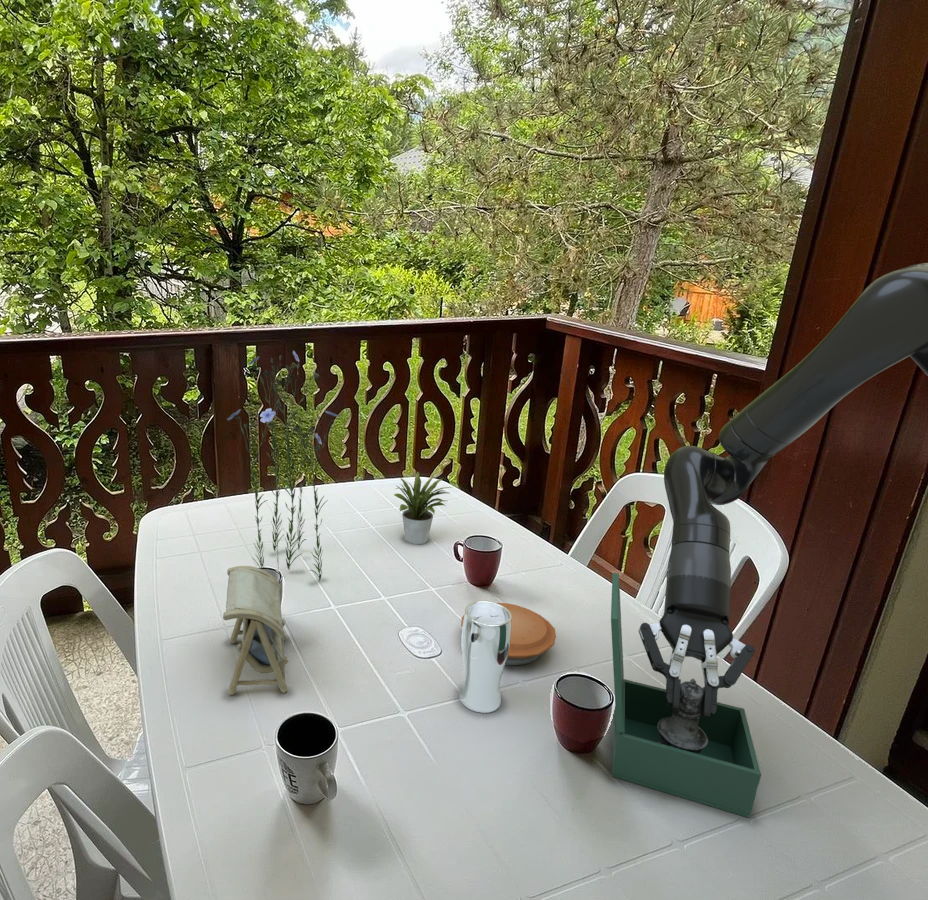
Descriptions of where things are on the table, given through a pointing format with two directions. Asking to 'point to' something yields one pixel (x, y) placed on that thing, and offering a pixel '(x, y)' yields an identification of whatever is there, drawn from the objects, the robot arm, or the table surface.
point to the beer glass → (484, 654)
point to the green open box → (686, 753)
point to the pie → (527, 635)
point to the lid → (617, 652)
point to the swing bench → (256, 624)
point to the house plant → (418, 509)
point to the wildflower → (268, 417)
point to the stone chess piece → (685, 721)
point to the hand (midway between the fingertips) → (690, 713)
